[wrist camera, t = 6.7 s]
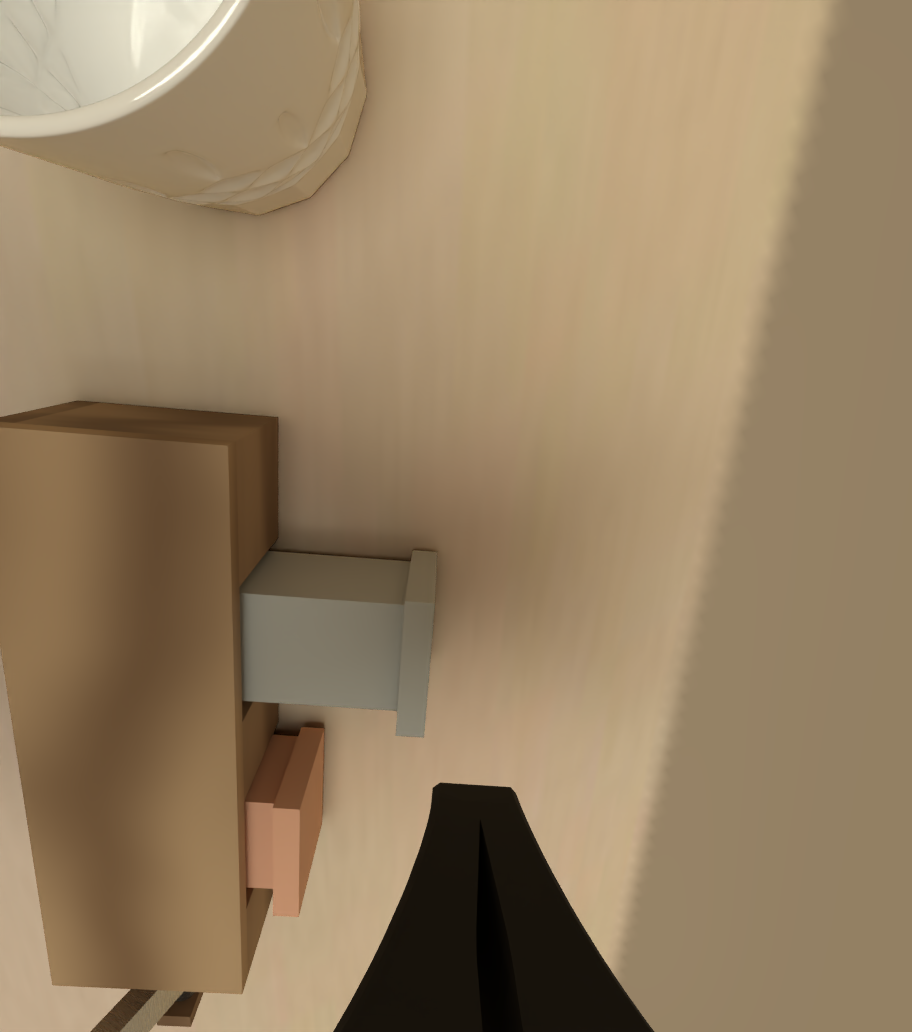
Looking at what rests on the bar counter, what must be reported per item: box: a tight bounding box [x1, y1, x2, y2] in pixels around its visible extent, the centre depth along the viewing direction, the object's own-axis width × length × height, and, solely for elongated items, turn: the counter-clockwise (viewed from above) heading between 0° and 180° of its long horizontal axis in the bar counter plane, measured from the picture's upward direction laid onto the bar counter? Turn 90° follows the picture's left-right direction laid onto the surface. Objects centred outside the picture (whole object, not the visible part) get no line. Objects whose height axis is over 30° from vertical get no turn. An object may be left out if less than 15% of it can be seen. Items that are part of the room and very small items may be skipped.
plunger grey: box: [239, 550, 437, 738], centre depth 19 cm, size 7×4×4 cm, turn 85°
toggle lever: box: [91, 989, 195, 1032], centre depth 21 cm, size 1×2×4 cm, turn 174°
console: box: [0, 401, 278, 1027], centre depth 20 cm, size 6×22×4 cm, turn 175°
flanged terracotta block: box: [244, 727, 324, 917], centre depth 20 cm, size 7×4×4 cm, turn 85°
